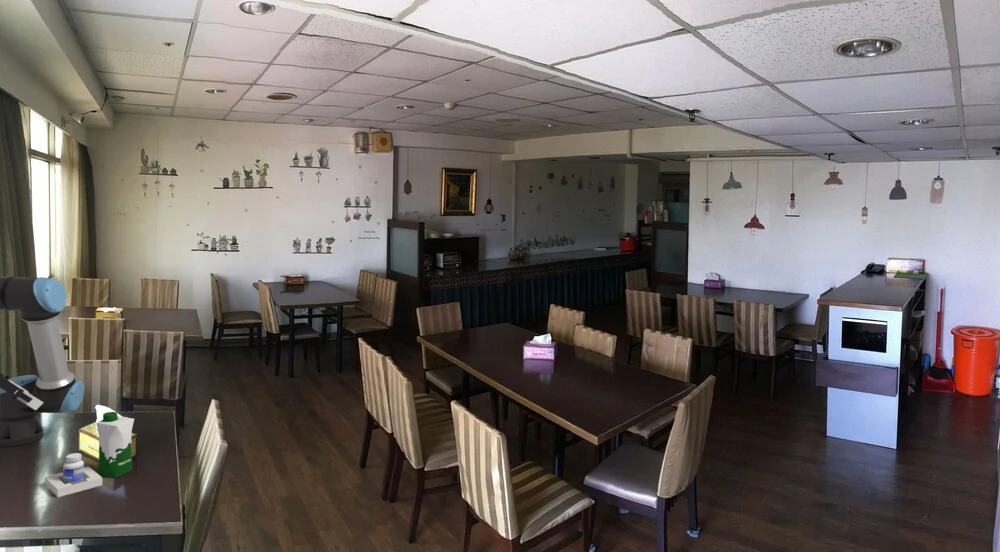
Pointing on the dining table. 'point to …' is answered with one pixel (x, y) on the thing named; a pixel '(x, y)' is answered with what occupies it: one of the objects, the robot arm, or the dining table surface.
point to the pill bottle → (73, 468)
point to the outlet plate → (73, 483)
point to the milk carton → (114, 445)
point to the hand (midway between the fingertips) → (32, 400)
